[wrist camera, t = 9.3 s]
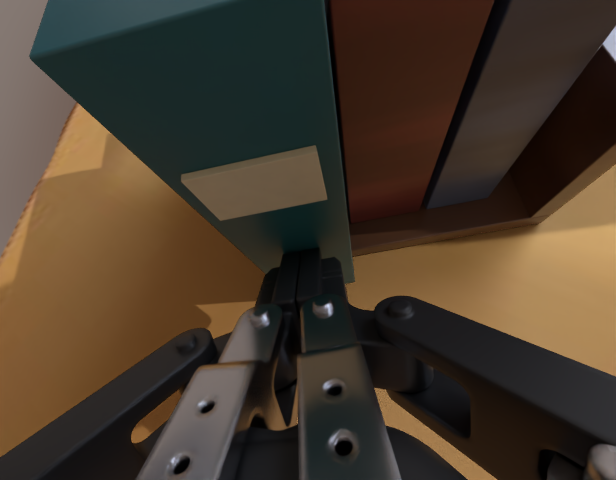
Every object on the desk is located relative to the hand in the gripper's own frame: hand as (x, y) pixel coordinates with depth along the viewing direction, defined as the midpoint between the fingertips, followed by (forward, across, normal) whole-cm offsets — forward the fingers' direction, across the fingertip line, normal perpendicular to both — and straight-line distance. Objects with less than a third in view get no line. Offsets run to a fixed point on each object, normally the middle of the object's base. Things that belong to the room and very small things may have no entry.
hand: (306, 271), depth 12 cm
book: (+8, 0, -1) cm, 8 cm away
